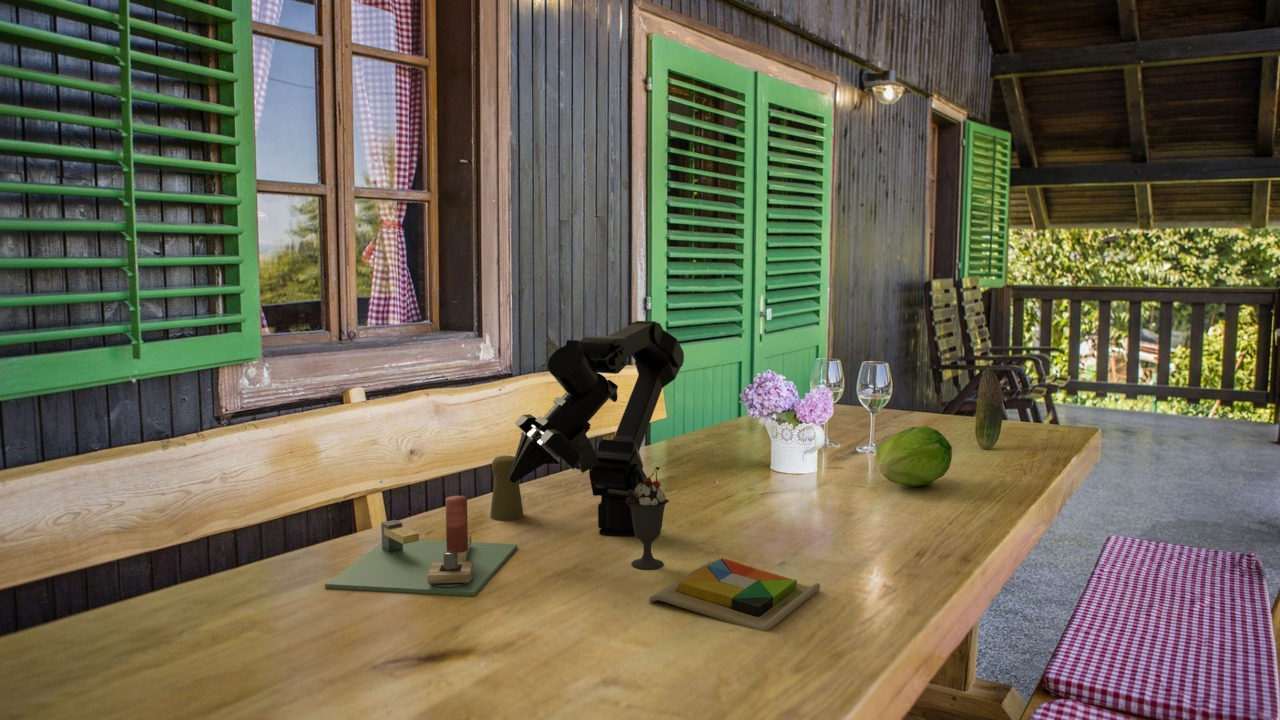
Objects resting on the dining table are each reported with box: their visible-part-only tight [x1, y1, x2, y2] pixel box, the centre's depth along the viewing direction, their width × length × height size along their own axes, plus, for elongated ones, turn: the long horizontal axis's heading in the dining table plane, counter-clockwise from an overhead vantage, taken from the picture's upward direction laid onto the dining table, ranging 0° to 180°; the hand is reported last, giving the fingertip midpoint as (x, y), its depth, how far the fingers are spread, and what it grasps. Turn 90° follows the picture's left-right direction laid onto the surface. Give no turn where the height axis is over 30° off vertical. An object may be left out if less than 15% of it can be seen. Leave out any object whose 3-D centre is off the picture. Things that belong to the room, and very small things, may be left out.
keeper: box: [380, 519, 420, 553], centre depth 147 cm, size 8×3×5 cm, turn 41°
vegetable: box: [974, 367, 1004, 450], centre depth 230 cm, size 6×6×20 cm
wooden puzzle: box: [648, 557, 821, 632], centre depth 130 cm, size 18×19×4 cm
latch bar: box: [428, 495, 473, 583], centre depth 141 cm, size 19×6×9 cm, turn 5°
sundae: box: [626, 466, 670, 571], centre depth 143 cm, size 7×7×15 cm
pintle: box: [429, 551, 474, 588], centre depth 135 cm, size 6×6×5 cm
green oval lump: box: [875, 426, 953, 487], centre depth 191 cm, size 14×20×12 cm
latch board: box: [324, 539, 518, 597], centre depth 143 cm, size 22×22×1 cm
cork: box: [489, 455, 525, 522], centre depth 170 cm, size 6×6×11 cm
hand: (510, 480), depth 145 cm, fingers closed
